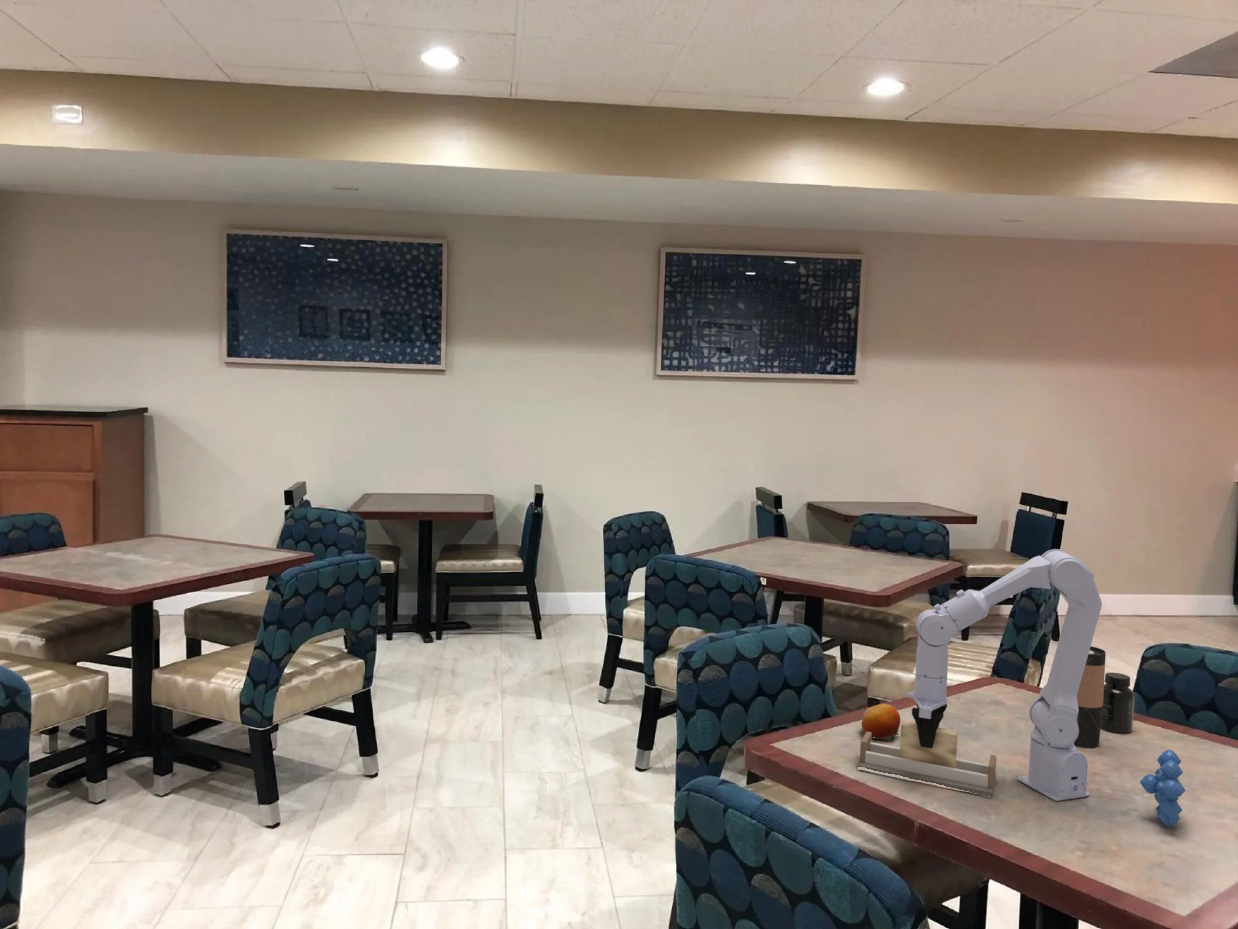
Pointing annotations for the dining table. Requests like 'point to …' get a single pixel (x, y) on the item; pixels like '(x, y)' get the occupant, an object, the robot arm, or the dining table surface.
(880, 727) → the fruit
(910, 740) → the door panel
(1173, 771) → the grapes
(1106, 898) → the dining table surface
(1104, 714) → the supplement bottle
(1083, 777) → the robot arm
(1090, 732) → the travel mug
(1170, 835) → the dining table surface
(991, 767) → the track board
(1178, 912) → the dining table surface
